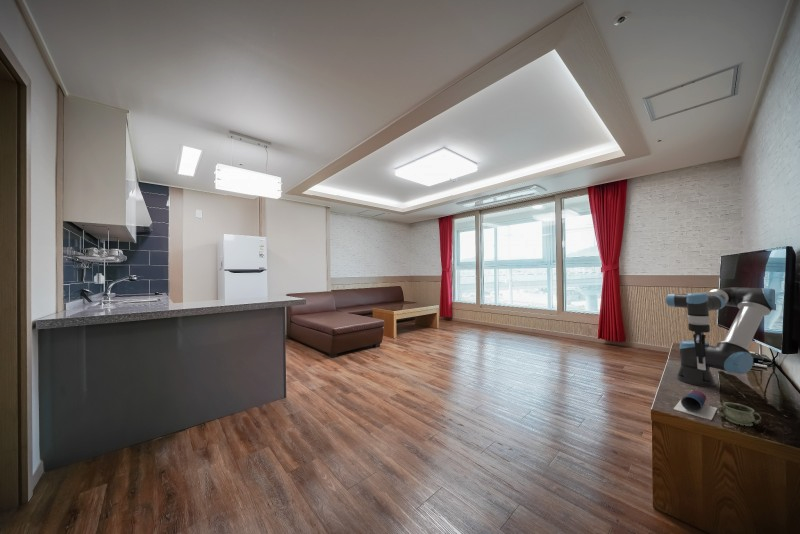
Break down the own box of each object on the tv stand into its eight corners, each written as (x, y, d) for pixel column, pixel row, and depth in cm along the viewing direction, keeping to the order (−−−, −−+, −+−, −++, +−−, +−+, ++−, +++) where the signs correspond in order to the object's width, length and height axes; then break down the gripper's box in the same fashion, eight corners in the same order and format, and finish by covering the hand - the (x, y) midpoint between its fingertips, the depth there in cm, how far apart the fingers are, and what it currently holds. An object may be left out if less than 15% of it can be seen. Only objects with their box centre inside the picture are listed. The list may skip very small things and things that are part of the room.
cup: (686, 388, 139) (678, 396, 131) (704, 388, 134) (697, 396, 125) (692, 403, 137) (684, 411, 129) (711, 404, 132) (705, 413, 123)
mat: (681, 399, 139) (681, 398, 139) (717, 408, 129) (717, 408, 129) (673, 409, 130) (673, 408, 130) (711, 420, 120) (711, 419, 120)
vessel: (720, 421, 120) (719, 406, 120) (716, 412, 126) (715, 399, 126) (765, 431, 112) (764, 415, 112) (758, 421, 118) (757, 406, 118)
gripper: (690, 320, 149) (693, 364, 149) (685, 324, 142) (688, 370, 141) (711, 322, 143) (714, 367, 143) (707, 326, 136) (710, 374, 135)
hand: (701, 369), depth 142 cm, fingers closed
